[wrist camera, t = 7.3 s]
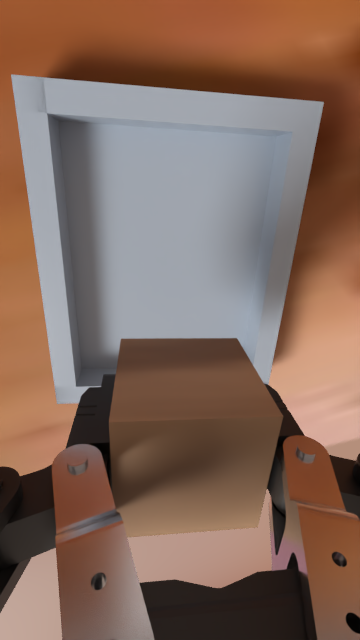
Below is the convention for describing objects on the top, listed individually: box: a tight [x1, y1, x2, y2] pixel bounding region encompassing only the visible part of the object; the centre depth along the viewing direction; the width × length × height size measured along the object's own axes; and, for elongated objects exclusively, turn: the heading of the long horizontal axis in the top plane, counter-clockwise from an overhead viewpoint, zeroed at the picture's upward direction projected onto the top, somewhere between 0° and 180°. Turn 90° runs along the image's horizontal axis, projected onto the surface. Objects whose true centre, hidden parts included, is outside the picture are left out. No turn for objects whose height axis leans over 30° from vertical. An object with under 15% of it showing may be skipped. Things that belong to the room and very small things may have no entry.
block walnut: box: [109, 338, 283, 537], centre depth 11 cm, size 4×4×4 cm
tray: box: [11, 75, 324, 404], centre depth 17 cm, size 16×13×2 cm
